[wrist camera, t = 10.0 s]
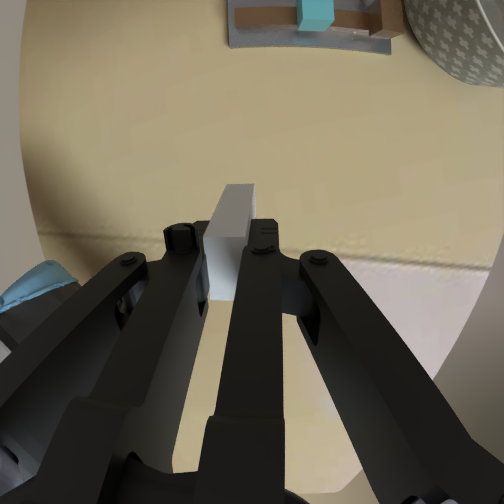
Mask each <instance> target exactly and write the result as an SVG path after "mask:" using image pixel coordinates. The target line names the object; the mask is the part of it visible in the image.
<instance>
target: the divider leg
mask: <svg viewBox="0 0 504 504" xmlns="http://www.w3.org/2000/svg"><path fill="white" fill-rule="evenodd" d="M296 6H297V25H298V30H304V31H325V30H326V29H327V28H328V27H329V26H330V25H331V24H332V23H333V22H334V5H333V0H296Z"/></svg>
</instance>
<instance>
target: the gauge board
mask: <svg viewBox="0 0 504 504" xmlns="http://www.w3.org/2000/svg"><path fill="white" fill-rule="evenodd" d="M333 5H334V22H333V23H332V24H331V25H330V26H329V27H328V28H327V29H326V30H325V31H304V30H298V25H297V6H296V0H228V27H229V47H230V49H231V48H250V47H311V48H329V49H342V50H352V51H361V52H369V53H377V54H384V55H391V38H393V37H396V36H398V35H401V34H404V26H403V13H402V3H401V1H399V0H333Z"/></svg>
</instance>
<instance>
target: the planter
mask: <svg viewBox="0 0 504 504" xmlns="http://www.w3.org/2000/svg"><path fill="white" fill-rule="evenodd" d="M404 5H405V10H406V14H407V18H408V21H409V23H410V26H411V28H412V30H413V33H414V34H415V36H416V38H417V40H418V41H419V43H420V45H421V46H422V47H423V49H424V50H425V52H426V53H427V54H428V55H429V57H430V58H431V59H432V60H433V61H434V62H435V63H436V64H437V65H438V66H439V67H440V68H442V69H443V70H444V71H445V72H447V73H448V74H449V75H451V76H453V77H454V78H456V79H458V80H460V81H462V82H465V83H468V84H472V85H479V86H490V87H499V88H504V0H404Z"/></svg>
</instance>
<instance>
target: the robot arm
mask: <svg viewBox="0 0 504 504" xmlns="http://www.w3.org/2000/svg"><path fill="white" fill-rule="evenodd" d="M163 233H164V239H165V244H166V250H167V251H166V252H165V254H164V256H163V258H162V259H161V260H157V261H151V262H146V257H145V255H144V254H143V253H140V252H127V253H125V254H123V255H120V256H118V257H117V258H115V259H114V260H113V261H112V262H110V263H109V264H108V265H107V266H106V267H104V268H103V269H102V270H101V271H100V272H98V273H97V274H96V275H95V276H94V277H92V278H91V279H90V280H89V281H88V282H87V283H85V284H84V285H83V286H81V285H80V284H79V283H78V280H77V279H76V278H73V277H72V276H71V275H70V274H69V273H68V272H67V271H66V270H65V269H64V268H63V267H62V266H61V264H59V263H58V262H56V261H54V260H47V261H44V262H42V263H40V264H39V265H37V266H35V267H34V268H32V269H31V270H30V271H28V272H27V273H26V274H24V275H23V276H22V277H21V278H19V279H18V280H17V281H16V282H15V283H13V284H12V285H11V286H10V287H9V288H8V289H7V290H6V291H5V292H4V293H3V294H2V295H1V296H0V504H309V503H308V502H307V501H306V500H304V499H303V498H301V497H300V496H298V495H296V494H295V493H293V492H291V491H289V490H287V489H285V420H284V412H283V337H282V313H286V314H291V315H295V316H297V317H296V318H297V323H298V325H299V327H300V329H301V332H302V334H303V336H304V338H305V340H306V342H307V345H308V347H309V349H310V351H311V353H312V356H313V358H314V360H315V362H316V364H317V367H318V369H319V371H320V373H321V375H322V378H323V380H324V382H325V384H326V387H327V389H328V391H329V393H330V395H331V398H332V400H333V402H334V404H335V407H336V409H337V411H338V413H339V415H340V418H341V420H342V422H343V424H344V427H345V429H346V431H347V433H348V436H349V438H350V440H351V442H352V445H353V447H354V449H355V451H356V454H357V456H358V458H359V460H360V463H361V465H362V467H363V470H364V472H365V474H366V476H367V479H368V481H369V483H370V485H371V487H372V490H373V492H374V494H375V496H376V498H377V499H378V502H379V504H504V464H503V463H502V462H501V461H499V460H498V459H497V458H496V457H494V456H493V455H492V454H490V453H489V452H488V451H487V450H485V449H484V448H483V447H482V446H480V445H479V444H478V443H476V442H475V441H474V440H473V439H472V438H471V437H470V435H469V434H468V432H467V431H466V429H465V428H464V426H463V425H462V423H461V422H460V420H459V419H458V417H457V416H456V414H455V413H454V411H453V410H452V408H451V407H450V405H449V404H448V402H447V401H446V399H445V398H444V396H443V395H442V394H441V392H440V391H439V389H438V388H437V386H436V385H435V384H434V382H433V381H432V379H431V378H430V377H429V375H428V374H427V372H426V371H425V370H424V368H423V367H422V365H421V364H420V363H419V361H418V360H417V359H416V357H415V356H414V354H413V353H412V352H411V350H410V349H409V348H408V346H407V345H406V344H405V342H404V341H403V340H402V338H401V337H400V336H399V334H398V333H397V332H396V330H395V329H394V328H393V326H392V325H391V324H390V323H389V321H388V320H387V319H386V317H385V316H384V315H383V314H382V312H381V311H380V310H379V308H378V307H377V306H376V305H375V303H374V302H373V301H372V300H371V298H370V297H369V296H368V294H367V293H366V292H365V291H364V289H363V288H362V287H361V286H360V285H359V283H358V282H357V281H356V280H355V278H354V277H353V276H352V275H351V273H350V272H349V271H348V270H347V269H346V267H345V266H344V265H343V264H342V263H341V261H340V260H339V259H338V258H337V257H336V256H335V255H334V254H333V253H330V252H328V251H325V250H319V249H318V250H310V251H306V252H304V253H303V254H301V256H300V259H299V260H297V259H293V258H289V257H287V256H285V255H283V254H282V253H281V252H280V249H279V234H278V223H277V222H276V221H275V220H274V219H256V211H255V184H227V185H226V187H225V189H224V191H223V194H222V196H221V198H220V200H219V202H218V204H217V207H216V209H215V211H214V213H213V216H212V218H211V220H209V221H196V222H194V223H193V224H192V223H178V224H174V225H171V226H169V227H167V228H165V229H164V230H163ZM209 291H210V299H211V300H234V302H233V308H232V314H231V319H230V325H229V331H228V337H227V343H226V348H225V354H224V360H223V366H222V372H221V378H220V384H219V390H218V396H217V402H216V408H215V412H214V415H213V416H209V418H208V420H207V424H206V428H205V433H204V438H203V444H202V449H201V455H200V461H199V466H198V471H195V472H184V473H173V468H172V455H173V451H174V446H175V442H176V437H177V433H178V429H179V424H180V420H181V416H182V412H183V408H184V403H185V399H186V395H187V391H188V387H189V383H190V379H191V374H192V370H193V366H194V362H195V358H196V354H197V350H198V346H199V343H200V339H201V335H202V331H203V327H204V323H205V319H206V315H207V312H208V299H207V295H208V292H209Z"/></svg>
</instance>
